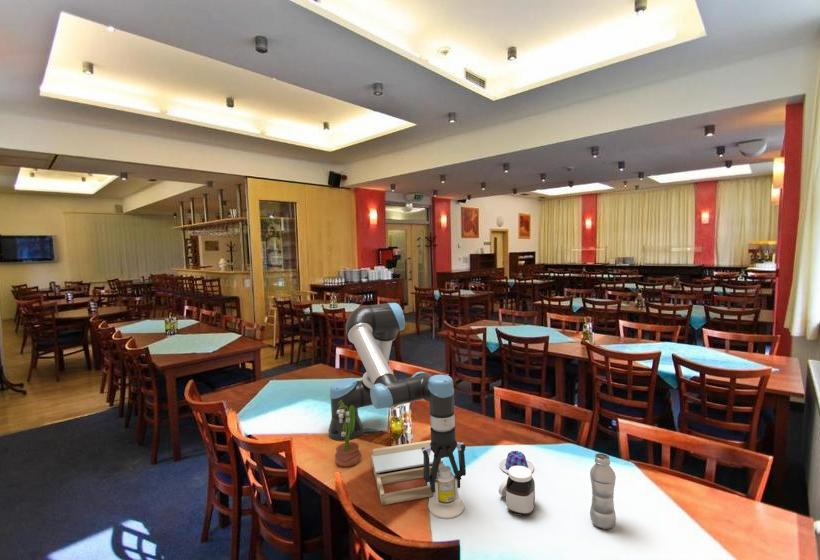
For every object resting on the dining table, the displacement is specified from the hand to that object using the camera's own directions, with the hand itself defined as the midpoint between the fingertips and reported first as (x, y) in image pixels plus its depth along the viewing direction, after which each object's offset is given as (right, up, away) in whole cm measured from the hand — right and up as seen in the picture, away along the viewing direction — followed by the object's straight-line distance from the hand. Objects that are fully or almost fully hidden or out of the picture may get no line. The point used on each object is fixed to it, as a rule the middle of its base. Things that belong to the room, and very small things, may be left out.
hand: (445, 499), depth 124 cm
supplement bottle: (0, -1, 0) cm, 1 cm away
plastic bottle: (+44, -1, -11) cm, 45 cm away
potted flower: (-35, -2, +29) cm, 46 cm away
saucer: (0, -3, 0) cm, 3 cm away
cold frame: (-11, -2, +18) cm, 21 cm away
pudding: (+27, 0, +20) cm, 34 cm away
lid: (-12, +2, +24) cm, 27 cm away
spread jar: (+22, -2, 0) cm, 22 cm away
